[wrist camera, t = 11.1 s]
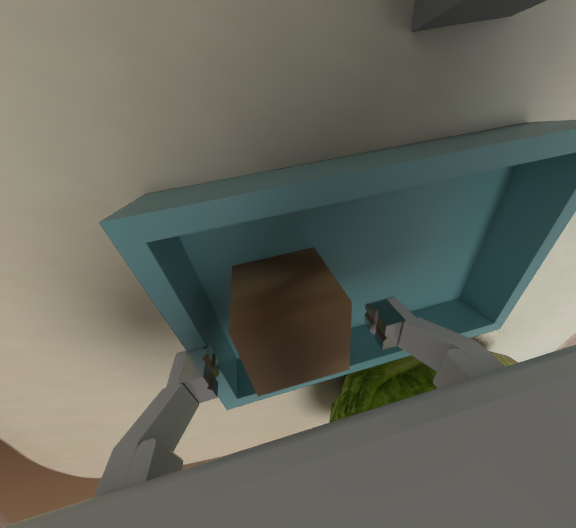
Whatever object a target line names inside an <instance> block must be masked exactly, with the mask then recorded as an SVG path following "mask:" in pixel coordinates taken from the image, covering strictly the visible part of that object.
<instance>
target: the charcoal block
mask: <svg viewBox="0 0 576 528" xmlns="http://www.w3.org/2000/svg"><path fill="white" fill-rule="evenodd" d="M544 1H546V0H415V8H414V16H413V24H412V32H413V31H419V30H425V29H432V28H438V27H445V26H451V25H457V24H464V23H470V22H477V21H483V20H489V19H496V18H502V17H509V16H512V15H514V14H517V13H519V12H521V11H524V10H526V9H528V8H530V7H533V6H535V5H537V4H539V3H542V2H544Z"/></svg>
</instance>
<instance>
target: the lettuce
mask: <svg viewBox="0 0 576 528" xmlns="http://www.w3.org/2000/svg"><path fill="white" fill-rule="evenodd" d="M489 352H490V353H491V354H492V355H493V356H495V357H496V358H497V359H498V360H499V361H500V362H502V363H503V364H504V365H505V366H506V367H507V366H510V365H513V364H516V363H518V362H516V361H515V360H513V359H512V358H510V357H508V356H506V355H502V354H498V353H494V352H491V351H489ZM436 373H437V371H435V370H434V369H432V368H431V367H429V366H427V365H426V364H424V363H423V362H421V361H420V360H418V359H416V358H415V357H413V356H412V355H410V356H407V357H403V358H400V359H397V360H393V361H390V362H387V363H383V364H380V365H377V366H373V367H370V368H366V369H363V370H360V371H356V372H353V373H350V374H348V375H347V376H346V378H345V381H344V384H343V387H342V390H341V393H340V394H339V395H338V397H337V398H336V400H335V401H334V402H333V404H332V410H331V415H330V421H329V423H330V422H334V421H337V420H340V419H343V418H346V417H349V416H353V415H356V414H359V413H362V412H365V411H368V410H371V409H375V408H378V407H381V406H384V405H387V404H390V403H393V402H397V401H400V400H403V399H406V398H409V397H412V396H416V395H419V394H422V393H425V392H428V391H431V390H434V389H437V387H436V386H435V385H434V383H433V379H434V377H435V375H436Z"/></svg>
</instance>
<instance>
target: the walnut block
mask: <svg viewBox="0 0 576 528" xmlns="http://www.w3.org/2000/svg"><path fill="white" fill-rule="evenodd" d="M351 316H352V301H351V300H350V298H349V297H348V295H347V294H346V293H345V291H344V290H343V288H342V287H341V285H340V284H339V283H338V281H337V280H336V278H335V277H334V275H333V274H332V272H331V271H330V270H329V268H328V267H327V265H326V264H325V262H324V261H323V260H322V258H321V257H320V255H319V254H318V252H317V251H316V249H315V248H314V247H313V248H308V249H304V250H299V251H295V252H291V253H286V254H282V255H278V256H273V257H269V258H265V259H260V260H256V261H251V262H247V263H243V264H238V265H234V266H232V279H231V302H230V325H229V335H230V337H231V339H232V342H233V344H234V346H235V348H236V350H237V353H238V355H239V357H240V359H241V361H242V363H243V366H244V368H245V370H246V372H247V374H248V376H249V379H250V381H251V383H252V385H253V387H254V389H255V392H256V394H257V396H262V395H265V394H269V393H272V392H275V391H279V390H282V389H286V388H289V387H292V386H296V385H299V384H303V383H306V382H309V381H313V380H316V379H319V378H323V377H326V376H330V375H333V374H336V373H340V372H343V371H347V370H349V365H350V341H351Z"/></svg>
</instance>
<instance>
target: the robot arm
mask: <svg viewBox="0 0 576 528" xmlns="http://www.w3.org/2000/svg"><path fill="white" fill-rule="evenodd" d="M365 309H366V311H367V312H366V313H365V315H364V320H365V324H366V326H367V328H368V330H369V331H370V332H371V333H373V334H375V340H376V342H377V343H378V344H379V346H380V347H381V349H382V350H383V349H387V348H391V347H395V346H398V347H399V348H401V349H402V350H404V351H406V352H407V353H409V354H410V355H412V356H413V357H415V358H416V359H418V360H420V361H421V362H423V363H424V364H426V365H427V366H429V367H431V368H432V369H434V370H435V371H437V373H436V375H435V377H434V379H433V383H434V385H435V386H436V387H437V389H434V390H431V391H428V392H425V393H422V394H419V395H416V396H412V397H409V398H406V399H403V400H400V401H397V402H393V403H390V404H387V405H384V406H381V407H378V408H375V409H371V410H368V411H365V412H362V413H359V414H356V415H353V416H349V417H346V418H343V419H340V420H337V421H334V422H330V423H327V424H324V425H321V426H318V427H315V428H312V429H308V430H305V431H302V432H299V433H296V434H293V435H289V436H286V437H283V438H280V439H277V440H274V441H271V442H267V443H264V444H261V445H258V446H255V447H252V448H249V449H245V450H242V451H239V452H236V453H233V454H230V455H227V456H223V457H220V458H217V459H214V460H211V461H208V462H205V463H201V464H198V465H196V466H192V467H189V468H186V469H182V467H183V460H182V458H180V457H179V456H178V455H176V454H175V453H173V451H174V449H175V448H176V446H177V444H178V442H179V440H180V438H181V437H182V435H183V433H184V431H185V429H186V428H187V426H188V424H189V422H190V420H191V419H192V417H193V415H194V413H195V411H196V409H197V408H198V406H199V403H202V402H205V401H208V400H211V399H214V398H217V395H218V381H217V380H216V378H217V377H218V375H219V369H220V367H219V360H218V357H217V355H216V354H213V348H212V347H211V345H208V346H204V347H200V348H196V349H191V350H188V351H184V352H180V353H177V355H176V356H175V359H174V362H173V366H172V369H171V373H170V376H169V380H168V383H167V387H166V388H164V389H162V390H161V392H160V393H159V394H158V395H157V396H156V398H155V399H154V400H153V401H152V403H151V404H150V405H149V406H148V407H147V409H146V410H145V411H144V412H143V413H142V415H141V416H140V417H139V418H138V419H137V421H136V422H135V423H134V424H133V426H132V427H131V428H130V429H129V430H128V432H127V433H126V434H125V435H124V436H123V438H122V439H121V440H120V441H119V443H118V444H117V445H116V446H115V447H114V449H113V451H112V453H111V456H110V458H109V461H108V463H107V466H106V468H105V471H104V473H103V476H102V478H101V481H100V483H99V486H98V488H97V491H96V493H95V496H94V498H91V499H88V500H85V501H82V502H79V503H76V504H72V505H69V506H66V507H63V508H60V509H57V510H54V511H50V512H47V513H44V514H41V515H38V516H35V517H32V518H28V519H25V520H22V521H19V522H16V523H13V524H10V525H7V526H3V527H0V528H576V345H573V346H570V347H567V348H564V349H561V350H557V351H554V352H551V353H548V354H545V355H542V356H538V357H535V358H532V359H529V360H526V361H523V362H520V363H516V364H513V365H510V366H507V367H506V366H505V365H504V364H503V363H502V362H500V361H499V360H498V359H497V358H496V357H495V356H493V355H492V354H491V353H490V352H489V351H488V350H486V349H485V348H484V347H483V346H482V345H481V344H479V343H478V342H477V341H475V340H473V339H471V338H468V337H466V336H463V335H461V334H458V333H456V332H454V331H451V330H449V329H446V328H444V327H441V326H439V325H437V324H434V323H432V322H429V321H427V320H424V319H422V318H420V317H419V318H416V317H415V316H414V315H413V314H412V313H411V312H410V311H409V310H408V309H407V308H406V307H405V306H404V305H403V304H402V303H401V302H400V301H399V300H398V299H397V298H396V297H394V296H392V297H389V298H385V299H381V300H377V301H373V302H370V303H367V304H366V305H365Z"/></svg>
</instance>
